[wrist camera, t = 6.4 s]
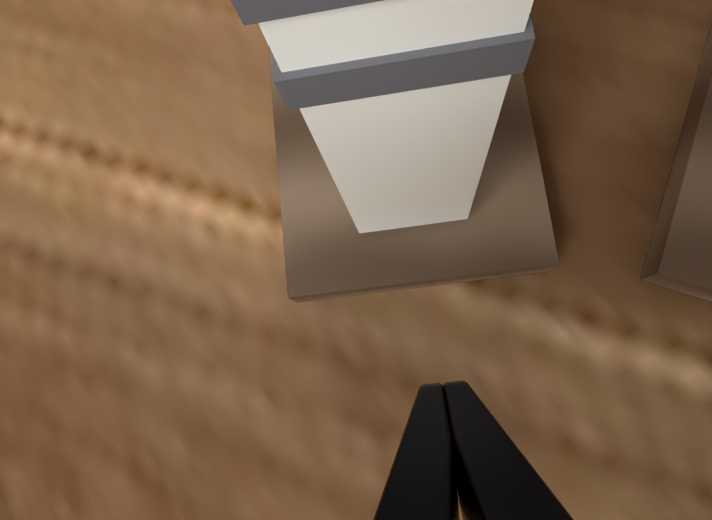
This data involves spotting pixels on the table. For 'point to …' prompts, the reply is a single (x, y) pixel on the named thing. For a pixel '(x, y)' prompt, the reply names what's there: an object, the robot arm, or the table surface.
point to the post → (397, 94)
